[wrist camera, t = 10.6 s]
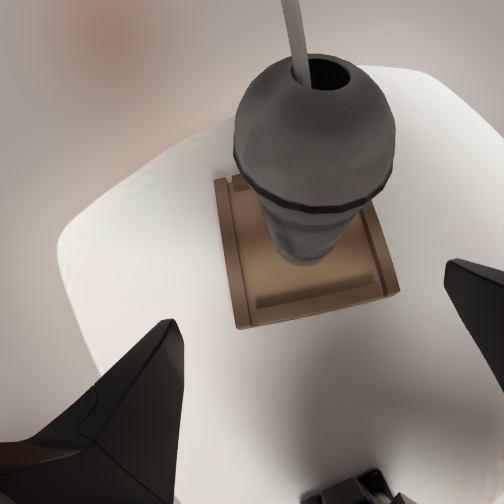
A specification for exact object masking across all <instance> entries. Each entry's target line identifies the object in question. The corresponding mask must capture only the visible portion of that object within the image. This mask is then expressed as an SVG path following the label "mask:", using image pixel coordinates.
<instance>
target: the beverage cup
mask: <svg viewBox="0 0 504 504" xmlns="http://www.w3.org/2000/svg"><path fill="white" fill-rule="evenodd" d="M281 3H282V8H283V13H284V17H285V22H286V28H287V32H288V38H289V43H290V49H291V54H292V56H291V57H287V58H285V59H283V60H281V61H279V62H276V63H274V64H273V65H270V66H269V67H268V68H266V69H265V70H264V71H263V72H262V73H261V74H260V75H259V76H257V77H256V78H255V79H254V80H253V81H252V82H251V84H250V85H249V87H248V88H247V90H246V92H245V94H244V96H243V98H242V100H241V102H240V104H239V107H238V110H237V113H236V119H235V132H234V148H233V157H234V159H235V162H236V164H237V167H238V169H239V171H240V174H241V176H242V177H243V178H244V180H245V181H246V182H247V183H248V185H249V187H250V188H251V190H252V191H253V193H254V194H255V196H256V197H257V198H258V201H259V204H260V207H261V210H262V213H263V215H264V218H265V221H266V224H267V227H268V230H269V233H270V235H271V238H272V241H273V243H274V246H275V247H276V249H277V252H278V253H279V254H280V256H281V257H282V258H283V259H284V260H286V261H287V262H289V263H290V264H292V265H296V266H300V267H304V266H312V265H315V264H317V263H319V262H321V261H322V260H323V259H324V258H326V256H327V255H328V254H329V253H330V252H331V251H332V249H333V248H334V247H335V245H336V244H337V242H338V241H339V239H340V238H341V236H342V235H343V233H344V232H345V230H346V229H347V227H348V226H349V224H350V223H351V221H352V220H353V218H354V217H355V215H356V214H357V212H358V211H359V210H360V209H361V208H362V207H364V206H365V205H366V204H367V203H368V202H369V201H370V200H371V199H372V198H373V197H375V196H376V195H377V194H378V193H380V192H381V191H382V190H383V188H384V186H385V185H386V183H387V181H388V179H389V177H390V175H391V173H392V168H393V158H394V152H395V131H396V128H395V121H394V117H393V115H392V112H391V110H390V107H389V105H388V102H387V100H386V97H385V95H384V93H383V92H382V91H381V89H380V88H379V86H378V85H377V84H376V83H375V82H374V81H373V80H372V79H371V78H370V76H369V75H368V74H366V73H365V72H364V71H363V70H361V69H360V68H358V67H357V66H355V65H353V64H352V63H350V62H348V61H345V60H342V59H340V58H338V57H335V56H330V55H324V54H307V50H306V43H305V36H304V29H303V23H302V17H301V11H300V5H299V0H281Z"/></svg>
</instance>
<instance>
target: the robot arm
mask: <svg viewBox="0 0 504 504" xmlns="http://www.w3.org/2000/svg"><path fill="white" fill-rule="evenodd" d="M444 287H445V290H446V292H447V293H448V295H449V297H450V299H451V301H452V303H453V305H454V306H455V308H456V310H457V312H458V314H459V316H460V318H461V320H462V322H463V323H464V325H465V327H466V328H467V330H468V331H469V333H470V334H471V336H472V338H473V339H474V341H475V343H476V344H477V346H478V348H479V349H480V351H481V353H482V354H483V356H484V358H485V359H486V361H487V363H488V365H489V366H490V368H491V370H492V372H493V374H494V375H495V377H496V379H497V381H498V383H499V385H500V387H501V389H502V390H503V392H504V271H501V270H497V269H494V268H490V267H487V266H483V265H480V264H476V263H473V262H469V261H466V260H462V259H458V258H456V259H452V260H449V261H447V263H446V268H445V276H444ZM183 393H184V341H183V337H182V335H181V333H180V330H179V328H178V325H177V323H176V321H175V320H174V319H165V320H161V321H160V322H159V323H158V324H157V325H156V326H155V327H153V328H152V329H151V330H150V331H149V332H148V333H147V334H146V335H145V336H144V337H143V338H142V339H141V340H140V341H139V342H138V343H137V344H136V345H135V346H133V347H132V348H131V349H130V350H129V351H128V352H127V353H126V354H125V355H124V356H123V357H122V358H121V359H120V360H119V361H118V362H117V363H116V364H115V365H114V366H112V367H111V368H110V369H109V370H108V371H107V372H106V373H105V374H104V375H103V376H102V377H101V378H100V379H99V380H98V381H97V382H96V383H95V384H94V386H92V387H91V388H90V389H89V390H87V391H86V392H85V393H84V394H83V395H82V396H81V397H80V398H79V399H78V400H77V401H76V402H75V403H74V404H72V405H71V406H70V407H69V408H68V409H66V410H65V411H64V412H63V413H62V414H60V415H59V416H58V417H57V418H55V419H54V420H53V421H52V422H50V423H49V424H48V425H47V426H46V427H44V428H43V429H42V430H41V431H40V432H38V433H37V434H35V435H34V436H33V437H31V438H29V439H26V440H23V441H19V442H0V504H173V501H174V487H175V474H176V462H177V450H178V440H179V430H180V420H181V410H182V402H183ZM374 472H377V474H376V475H375V476H372V474H373V473H374ZM301 504H417V503H415V502H414V501H412V500H411V499H409V498H408V497H406V496H405V495H403V494H402V493H400V492H399V493H398V494H397V495H396V496H395V497H394V498H393V496H392V494H391V492H390V490H389V488H388V486H387V483H386V481H385V479H384V477H383V475H382V473H381V471H380V470H379V469H378V468H372V469H370V470H368V471H366V472H365V473H363V474H361V475H359V476H357V477H351V478H349V479H347V480H345V481H343V482H341V483H339V484H336V485H334V486H332V487H330V488H328V489H325V490H323V491H322V492H321V494H319V495H316V496H314V497H312V498H309V499H307V500H304V501H302V502H301Z"/></svg>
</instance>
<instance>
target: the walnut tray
mask: <svg viewBox="0 0 504 504" xmlns="http://www.w3.org/2000/svg"><path fill="white" fill-rule="evenodd" d="M232 182H233V183H229V184H227V180H226V177H225V178H220V179H216V180H214V186H215V194H216V201H217V208H218V215H219V222H220V229H221V235H222V242H223V249H224V255H225V262H226V268H227V275H228V281H229V287H230V294H231V300H232V306H233V312H234V318H235V324H236V328H237V329H239V330H241V329H247V328H252V327H258V326H263V325H268V324H274V323H279V322H284V321H289V320H293V319H298V318H303V317H308V316H312V315H317V314H321V313H326V312H330V311H334V310H339V309H343V308H347V307H351V306H355V305H359V304H363V303H367V302H371V301H375V300H379V299H383V298H387V297H390V296H394V295H395V294H397V293H398V292H400V288H399V284H398V280H397V277H396V273H395V270H394V267H393V263H392V260H391V257H390V253H389V250H388V247H387V244H386V241H385V238H384V235H383V232H382V229H381V226H380V223H379V220H378V217H377V215H376V212H375V209H374V206H373V203H372V201H371V200H370V201H369V202H368V203H367V204H366V205H365V206H364V207H362V208H361V209H360V210H359V211H358V212H357V214H356V215H355V217H354V218H353V220H352V221H351V223H350V224H349V226H348V227H347V229H346V230H345V232H344V233H343V235H342V236H341V238H340V239H339V241H338V242H337V244H336V245H335V247H334V248H333V249H332V251H331V252H330V253H329V254H328V255H327V256H326V258H324V259H323V260H322V261H321V262H319V263H317V264H315V265H312V266H304V267H300V266H296V265H292V264H290V263H289V262H287V261H286V260H284V259H283V258H282V257H281V256H280V254H279V253H278V252H277V249H276V247H275V246H274V243H273V241H272V238H271V235H270V233H269V230H268V227H267V224H266V221H265V218H264V215H263V213H262V210H261V207H260V204H259V201H258V198H257V197H256V196H255V194H254V193H253V191H252V190H251V188H250V187H249V185H248V183H247V182H246V181H245V180H244V178H243V177H242V176H241V174H239V175H234V176H232Z"/></svg>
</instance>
